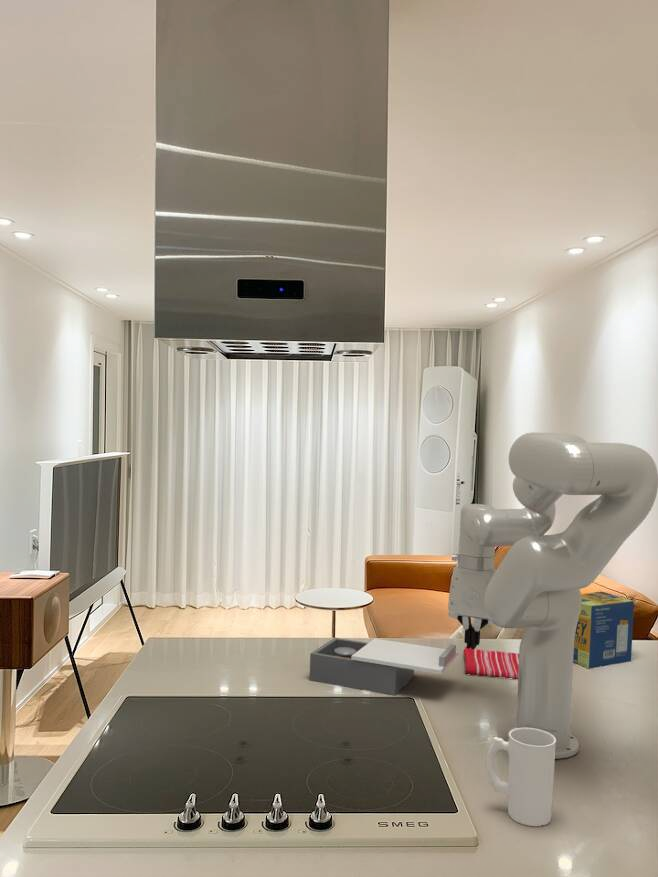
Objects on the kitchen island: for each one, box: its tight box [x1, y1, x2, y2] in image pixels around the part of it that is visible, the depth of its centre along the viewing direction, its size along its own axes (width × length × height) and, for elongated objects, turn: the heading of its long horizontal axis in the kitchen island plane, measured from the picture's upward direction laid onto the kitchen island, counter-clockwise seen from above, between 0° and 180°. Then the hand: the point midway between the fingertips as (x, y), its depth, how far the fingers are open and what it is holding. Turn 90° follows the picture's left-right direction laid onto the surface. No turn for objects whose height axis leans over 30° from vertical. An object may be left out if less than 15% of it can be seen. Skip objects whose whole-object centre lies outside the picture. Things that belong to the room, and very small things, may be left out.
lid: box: [351, 638, 459, 675], centre depth 168 cm, size 15×20×3 cm
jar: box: [334, 647, 356, 659], centre depth 174 cm, size 5×5×5 cm
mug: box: [485, 728, 556, 827], centre depth 114 cm, size 10×7×12 cm, turn 68°
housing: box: [309, 637, 415, 696], centre depth 172 cm, size 14×20×6 cm
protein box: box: [573, 591, 635, 669], centre depth 191 cm, size 10×15×16 cm
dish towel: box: [462, 646, 519, 680], centre depth 182 cm, size 17×24×3 cm
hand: (471, 647), depth 163 cm, fingers closed
